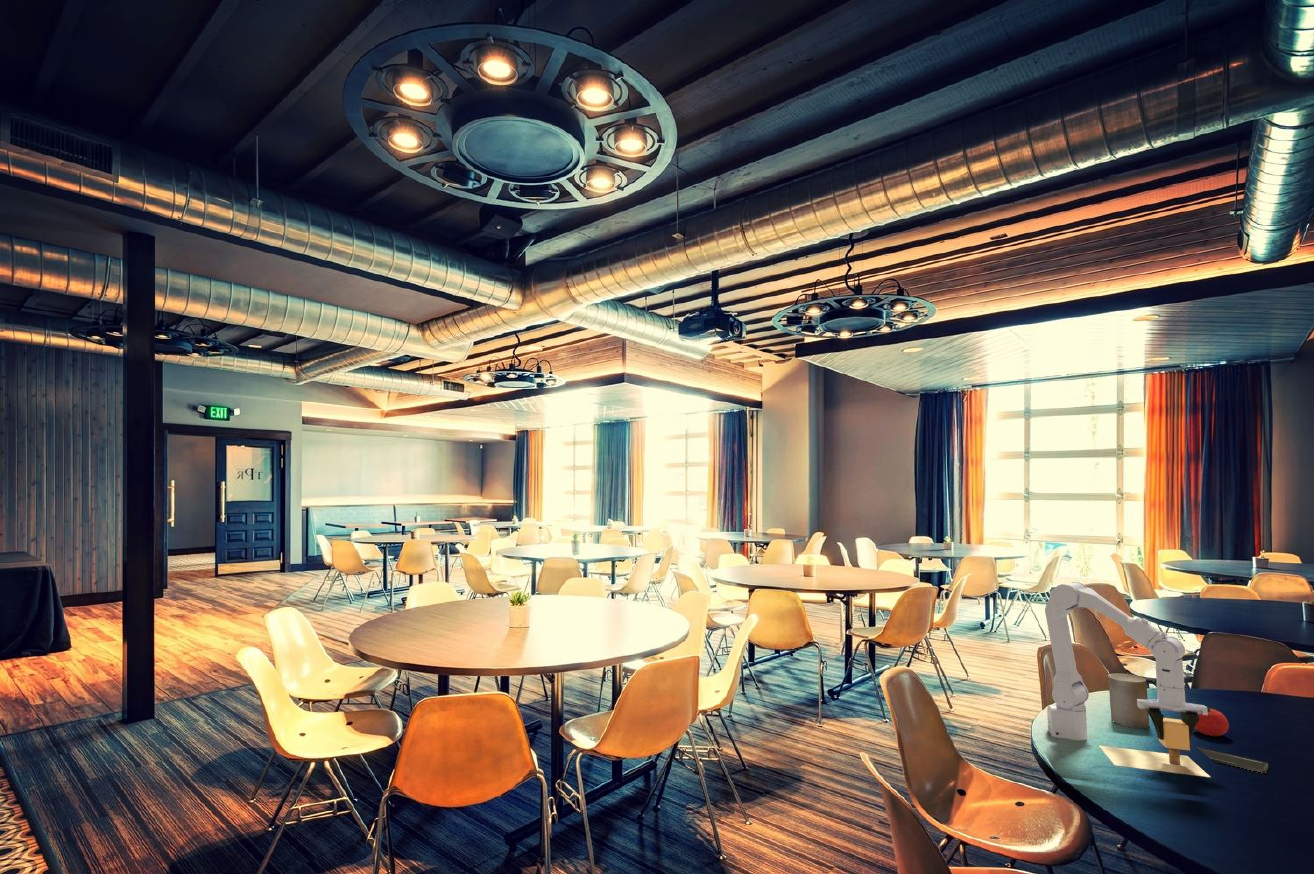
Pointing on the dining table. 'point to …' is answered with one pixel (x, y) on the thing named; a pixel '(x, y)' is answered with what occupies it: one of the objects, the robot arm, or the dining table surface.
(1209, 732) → the tomato
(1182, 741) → the tan foam cube
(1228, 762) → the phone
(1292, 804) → the dining table surface
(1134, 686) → the pillar candle
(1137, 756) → the board
